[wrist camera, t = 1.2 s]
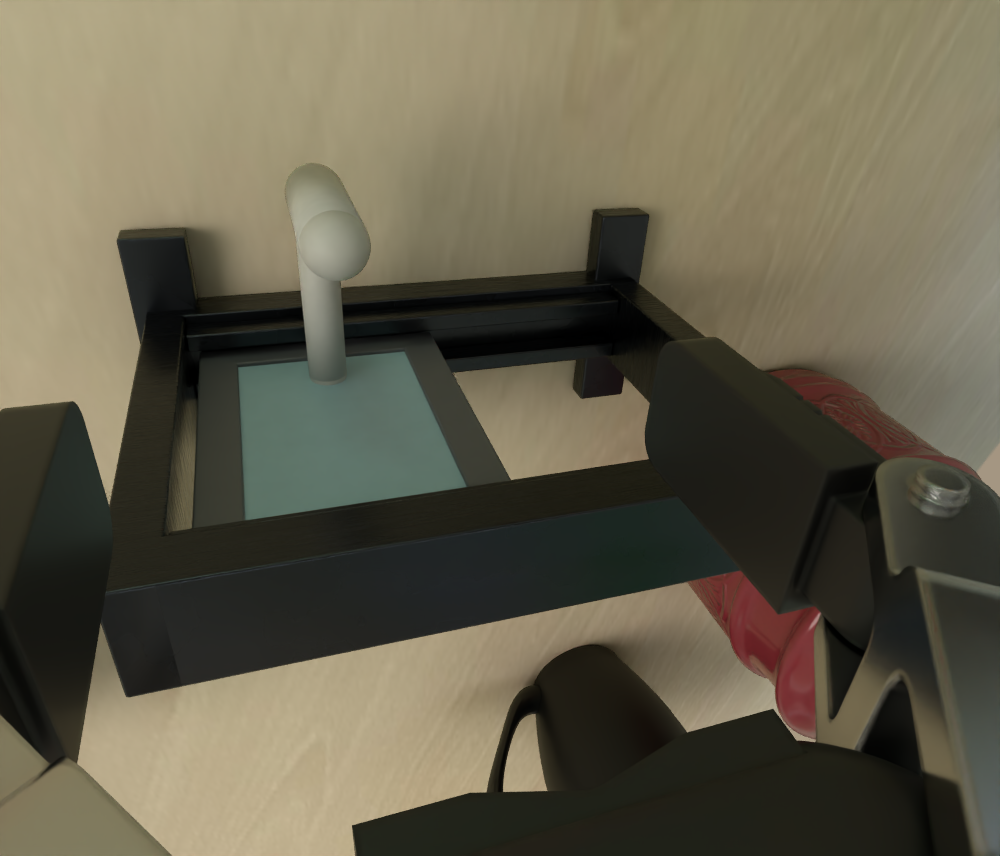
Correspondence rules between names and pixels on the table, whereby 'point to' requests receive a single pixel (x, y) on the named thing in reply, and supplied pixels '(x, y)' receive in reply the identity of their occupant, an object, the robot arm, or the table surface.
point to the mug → (587, 720)
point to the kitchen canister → (790, 636)
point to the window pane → (330, 396)
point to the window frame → (389, 522)
